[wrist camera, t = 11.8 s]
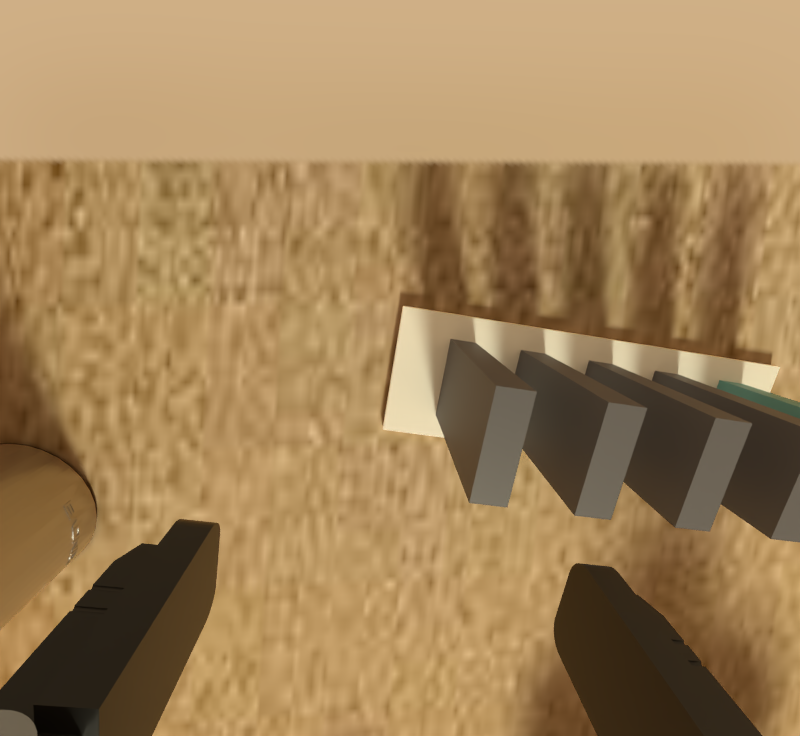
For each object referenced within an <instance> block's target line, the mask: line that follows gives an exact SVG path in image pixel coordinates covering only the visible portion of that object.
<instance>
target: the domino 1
mask: <svg viewBox="0 0 800 736" xmlns="http://www.w3.org/2000/svg"><path fill="white" fill-rule="evenodd" d="M536 394H537V391H535V390H534V389H533V388H532V387H530V386H529V385H528V384H527V383H525V382H524V381H523V380H522V379H521V378H519V377H518V376H517V375H516V374H514V373H513V372H512V371H511V370H509V369H508V368H507V367H506V366H504V365H503V364H502V363H501V362H499V361H498V360H497V359H496V358H494V357H493V356H492V355H491V354H489V353H488V352H487V351H486V350H484V349H483V348H482V347H481V346H479V345H478V344H477V343H474V342H468V341H462V340H455V339H450V344H449V349H448V354H447V360H446V365H445V370H444V375H443V380H442V385H441V390H440V395H439V400H438V405H437V410H436V417H437V419H438V422H439V425H440V427H441V430H442V433H443V435H444V438H445V440H446V443H447V446H448V448H449V451H450V454H451V456H452V459H453V461H454V464H455V467H456V469H457V472H458V475H459V477H460V480H461V482H462V485H463V488H464V490H465V493H466V496H467V498H468V501H469V503H475V504H483V505H491V506H500V507H508V503H509V499H510V495H511V491H512V487H513V483H514V479H515V475H516V472H517V468H518V464H519V460H520V456H521V452H522V448H523V444H524V440H525V436H526V433H527V429H528V425H529V421H530V417H531V413H532V409H533V405H534V401H535V397H536Z"/></svg>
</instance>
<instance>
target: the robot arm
mask: <svg viewBox="0 0 800 736" xmlns="http://www.w3.org/2000/svg"><path fill="white" fill-rule="evenodd" d="M96 518H97V515H96V507H95V502H94V500H93V497H92V495H91V492H90V490H89V488H88V487H87V485H86V484H85V482H84V481H83V479H82V478H81V477H80V476H79V475H78V474H77V473H76V472H75V471H74V470H73V469H72V468H71V467H70V466H69V465H67V464H66V463H65V462H63V461H62V460H60V459H59V458H58V457H56V456H53V455H51V454H49V453H47V452H45V451H43V450H40V449H37V448H33V447H30V446H26V445H17V444H0V630H1V629H2V628H3V627H4V626H5V625H6V624H7V623H8V622H9V621H10V620H11V619H12V618H13V617H14V616H15V615H16V614H17V613H18V612H19V611H20V610H21V609H22V608H23V607H24V606H25V605H27V604H28V603H29V602H30V601H31V600H32V599H33V598H34V597H35V596H36V595H37V594H38V593H39V592H40V591H41V590H42V589H43V588H44V587H45V586H46V585H47V584H48V583H49V582H51V581H52V580H53V579H54V578H55V577H56V576H57V575H58V574H59V573H60V572H61V571H62V570H63V569H64V568H65V567H66V566H67V565H68V564H69V563H70V562H71V561H72V560H73V559H74V558H75V557H76V556H77V555H78V554H80V553H81V552H82V551H83V550H84V548H85V547H86V546H87V544H88V543H89V542H90V540H91V538H92V536H93V533H94V531H95V527H96ZM219 539H220V526H219V524H218V523H212V522H203V521H193V520H184V519H179V520H178V521H176V522H175V524H174V525H173V526H172V527H171V529H170V530H169V531H168V532H167V534H166V535H165V536H164V538H163V539H162V540H161V541H160V543H159V544H158V545H153V544H143V543H142V544H140V545H139V546H137V547H136V548H134V549H133V550H131V551H129V552H128V553H126V554H125V555H123V556H122V557H120V558H118V559H117V560H115V561H114V562H113V563H112V564H111V565H110V566H109V567H108V569H107V570H106V571H105V572H104V573H103V574H102V575H101V576H100V578H99V579H98V580H97V581H96V582H95V583H94V584H93V587H92V589H91V590H88V591H87V592H86V593H85V595H84V596H83V597H82V598H81V599H80V600H79V601H78V602H77V604H76V605H75V607H74V609H73V611H69V613H68V614H67V615H66V616H65V617H64V618H63V619H62V621H61V622H60V623H59V624H58V625H57V626H56V627H55V628H54V630H53V631H52V632H51V633H50V634H49V635H48V636H47V637H46V639H45V640H44V641H43V642H42V643H41V644H40V645H39V647H38V648H37V649H36V650H35V651H34V652H33V653H32V654H31V656H30V657H29V658H28V659H27V660H26V661H25V662H24V663H23V665H22V666H21V667H20V668H19V669H18V670H17V671H16V673H15V674H14V675H13V676H12V677H11V678H10V679H9V680H8V682H7V683H6V684H5V685H4V686H3V687H2V688H1V689H0V736H152V734H153V732H154V730H155V728H156V726H157V724H158V722H159V720H160V717H161V715H162V713H163V711H164V709H165V707H166V705H167V703H168V701H169V699H170V696H171V694H172V692H173V690H174V688H175V686H176V684H177V682H178V680H179V677H180V675H181V673H182V671H183V669H184V667H185V665H186V663H187V661H188V659H189V656H190V654H191V652H192V650H193V648H194V646H195V644H196V642H197V640H198V638H199V635H200V633H201V631H202V629H203V627H204V625H205V623H206V620H207V618H208V615H209V612H210V609H211V606H212V603H213V599H214V594H215V588H216V578H217V565H218V552H219ZM554 638H555V643H556V647H557V650H558V653H559V655H560V658H561V660H562V662H563V664H564V666H565V668H566V670H567V672H568V674H569V677H570V679H571V681H572V683H573V685H574V687H575V689H576V691H577V693H578V695H579V698H580V700H581V702H582V704H583V706H584V708H585V710H586V712H587V714H588V716H589V719H590V721H591V723H592V725H593V727H594V729H595V731H596V733H597V735H598V736H762V735H761V734H760V732H759V731H758V730H757V729H756V727H755V726H754V725H753V724H752V723H751V721H750V720H749V719H748V718H747V717H746V715H745V714H744V713H743V712H742V711H741V709H740V708H739V707H738V706H737V704H736V703H735V702H734V701H733V700H732V698H731V697H730V696H729V695H728V694H727V692H726V691H725V690H724V689H723V688H722V686H721V685H720V684H719V683H718V681H717V680H716V679H715V678H714V677H713V675H712V674H711V673H710V672H709V671H708V669H707V668H706V667H702V665H701V661H700V660H699V658H698V657H697V656H696V655H695V654H694V652H693V651H692V650H691V649H690V648H689V646H688V645H684V640H683V639H682V638H681V637H680V635H679V634H678V633H677V632H676V631H675V629H674V628H673V627H672V626H671V625H670V623H669V622H668V621H667V620H666V619H665V617H664V616H663V615H661V614H660V613H659V612H658V611H657V610H655V609H654V608H653V607H652V606H651V605H649V604H648V603H647V602H646V601H644V600H643V599H642V598H641V597H640V596H638V595H636V594H635V593H634V592H633V591H632V589H631V588H630V587H629V586H628V584H627V583H626V582H625V581H624V579H623V578H622V577H621V576H620V574H619V573H618V572H617V571H616V570H615V569H614V568H612V567H607V566H598V565H589V564H579V563H578V564H575V565H574V566H573V567H572V568H571V570H570V573H569V576H568V579H567V582H566V585H565V589H564V592H563V595H562V598H561V601H560V605H559V608H558V611H557V614H556V617H555V622H554Z"/></svg>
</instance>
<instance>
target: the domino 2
mask: <svg viewBox="0 0 800 736" xmlns="http://www.w3.org/2000/svg"><path fill="white" fill-rule="evenodd" d="M515 374H516V375H517V376H518V377H519V378H521V379H522V380H523V381H524V382H525V383H527V384H528V385H529V386H530V387H532V388H533V389H534V390H535V391H537V394H536V397H535V401H534V405H533V409H532V413H531V417H530V421H529V425H528V429H527V433H526V436H525V440H524V444H523V448H522V449H523V450H524V451H525V453H526V454H527V455H528V457H529V458H530V459H531V460H532V462H533V463H534V464H535V466H536V467H537V468H538V469H539V471H540V472H541V473H542V475H543V476H544V477H545V478H546V480H547V481H548V482H549V483H550V485H551V486H552V487H553V489H554V490H555V491H556V492H557V494H558V495H559V496H560V498H561V499H562V500H563V501H564V503H565V504H566V505H567V506H568V508H569V509H570V510H571V512H572V513H573V514H574V515H575V516H583V517H591V518H600V519H608V520H611V518H612V515H613V512H614V509H615V505H616V502H617V499H618V496H619V493H620V490H621V487H622V484H623V481H624V478H625V475H626V472H627V469H628V466H629V463H630V460H631V457H632V454H633V451H634V447H635V444H636V441H637V438H638V435H639V432H640V429H641V426H642V423H643V420H644V417H645V414H646V411H647V408H646V407H645V406H643V405H641V404H639V403H637V402H635V401H633V400H631V399H630V398H628V397H626V396H624V395H622V394H620V393H618V392H616V391H615V390H613V389H611V388H609V387H607V386H605V385H603V384H601V383H600V382H598V381H596V380H594V379H592V378H590V377H588V376H586V375H585V374H583V373H581V372H579V371H577V370H575V369H573V368H571V367H570V366H568V365H566V364H564V363H562V362H560V361H558V360H556V359H554V358H553V357H551V356H549V355H547V354H545V353H538V352H532V351H525V350H521V351H520V355H519V360H518V364H517V368H516V372H515Z"/></svg>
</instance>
